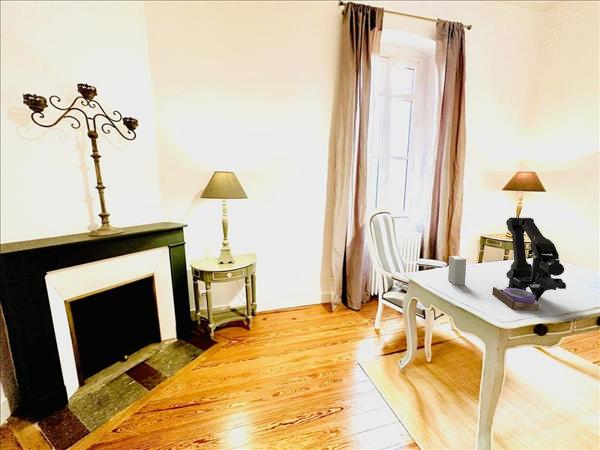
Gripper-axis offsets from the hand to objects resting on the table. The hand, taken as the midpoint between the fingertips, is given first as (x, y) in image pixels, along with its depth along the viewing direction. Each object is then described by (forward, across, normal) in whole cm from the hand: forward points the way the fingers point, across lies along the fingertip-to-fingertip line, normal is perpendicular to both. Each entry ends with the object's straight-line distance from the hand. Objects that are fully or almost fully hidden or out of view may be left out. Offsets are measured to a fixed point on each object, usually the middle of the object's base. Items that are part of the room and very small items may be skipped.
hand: (536, 300), depth 122 cm
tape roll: (+2, -8, 0) cm, 8 cm away
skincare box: (+1, -26, +23) cm, 35 cm away
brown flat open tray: (+2, -9, 0) cm, 9 cm away
